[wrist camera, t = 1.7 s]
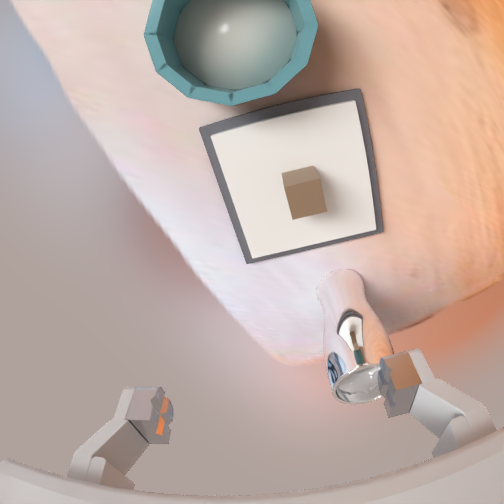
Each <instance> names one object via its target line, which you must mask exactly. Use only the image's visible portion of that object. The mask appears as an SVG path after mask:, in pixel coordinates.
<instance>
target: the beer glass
mask: <svg viewBox="0 0 504 504" xmlns="http://www.w3.org/2000/svg"><path fill="white" fill-rule="evenodd" d="M316 294H317V298H318V300H319V302H320V304H321V306H322V308H323V311H324V335H323V349H324V358H325V363H326V369H327V373H328V377H329V381H330V385H331V388H332V394H333V396H334V398H335V399H336V400H337V401H339V402H341V403H344V404H353V405H354V404H364V403H368V402H372V401H374V400H377V399H379V398H381V397H383V396H382V395H381V394H380V391H379V387H378V379H377V377H378V371H379V370H380V369H381V368H380V365H379V362H380V359H381V357H385V356H389V355H393V354H394V351H393V348H392V344H391V341H390V339H389V336H388V334H387V332H386V330H385V328H384V326H383V324H382V323H381V321H380V319H379V318H378V316H377V315H376V313H375V312H374V311H373V309H372V308H371V306H370V305H369V303H368V301H367V299H366V297H365V291H364V283H363V280H362V278H361V277H360V275H359V274H358V273H356V272H355V271H352V270H349V269H339V270H335V271H332V272H330V273H328V274H326V275H325V276H324V277H323V278H322V279H321V280H320V282H319V283H318V286H317V290H316Z"/></svg>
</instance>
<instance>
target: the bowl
mask: <svg viewBox="0 0 504 504" xmlns="http://www.w3.org/2000/svg"><path fill="white" fill-rule="evenodd" d="M317 29H318V23H317V20H316V16H315V13H314V10H313V8H312V5H311V2H310V0H153V1H152V5H151V9H150V12H149V16H148V20H147V24H146V28H145V32H144V38H145V41H146V44H147V47H148V50H149V52H150V55H151V58H152V61H153V64H154V67H155V70H156V72H157V73H158V74H159V75H161V76H162V77H163V78H164V79H166V80H167V81H168V82H169V83H171V84H172V85H173V86H174V87H176V88H177V89H178V90H179V91H180V92H182V93H183V94H184V95H185V96H186V97H189V98H192V99H198V100H203V101H209V102H214V103H219V104H224V105H229V106H231V105H232V106H233V105H237V104H240V103H244V102H247V101H251V100H254V99H258V98H262V97H266V96H270V95H274V93H275V94H276V93H277V92H278V91H279V90H280V89H281V88H282V87H283V86H284V85H285V84H286V83H288V82H289V81H290V80H291V79H292V78H293V77H294V76H295V75H296V74H297V73H298V72H300V71H301V70H302V69H303V68H304V67H305V66H306V64H308V60H309V57H310V53H311V50H312V46H313V43H314V39H315V36H316V32H317ZM296 34H297V35H296ZM289 59H290V60H289ZM288 61H289V62H288ZM287 62H288V63H287ZM266 81H267V82H266ZM264 82H265V83H264ZM234 89H235V90H234ZM236 89H239V90H236Z"/></svg>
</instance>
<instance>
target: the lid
mask: <svg viewBox="0 0 504 504" xmlns="http://www.w3.org/2000/svg"><path fill="white" fill-rule="evenodd" d="M211 139H212V142H213V145H214V148H215V151H216V154H217V157H218V160H219V163H220V165H221V168H222V171H223V174H224V177H225V180H226V183H227V186H228V189H229V192H230V195H231V198H232V200H233V203H234V206H235V209H236V212H237V215H238V218H239V221H240V224H241V227H242V230H243V232H244V235H245V238H246V241H247V244H248V247H249V250H250V253H251V256H252V259H253V258H258V257H262V256H266V255H270V254H275V253H279V252H283V251H288V250H292V249H296V248H301V247H305V246H309V245H313V244H318V243H322V242H326V241H330V240H335V239H339V238H343V237H347V236H352V235H356V234H360V233H364V232H368V231H373V230H376V223H375V214H374V206H373V198H372V190H371V183H370V177H369V170H368V164H367V158H366V152H365V146H364V141H363V136H362V130H361V125H360V120H359V116H358V111H357V106H356V102H355V101H354V100H352V101H346V102H341V103H335V104H330V105H325V106H321V107H316V108H311V109H307V110H302V111H298V112H293V113H289V114H285V115H281V116H277V117H273V118H269V119H265V120H261V121H258V122H254V123H250V124H247V125H243V126H240V127H236V128H233V129H229V130H226V131H223V132H219V133H216V134H213V135H211Z"/></svg>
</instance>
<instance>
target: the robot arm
mask: <svg viewBox="0 0 504 504" xmlns="http://www.w3.org/2000/svg"><path fill="white" fill-rule="evenodd" d="M379 365H380V368H381V369H380V370H379V371H378V377H377V379H378V387H379V391H380V394H381V395H382V396H383V397H385V402H384V406H385V409H386V411H387V415H388V417H389V418H390V417H394V416H398V415H402V414H406V413H410V414H411V415H412V416H413V417H414V418H415V419H416V420H418V421H419V422H420V423H421V424H422V425H424V426H425V427H426V428H427V429H428V430H430V431H431V432H432V433H434V434H435V435H436V436H437V437H438V438H440V440H439V441H438V443H437V445H436V446H435V448H434V449H433V451H432V455H433V459H430V460H427V461H424V462H421V463H418V464H415V465H413V466H409V467H406V468H403V469H400V470H396V471H392V472H389V473H385V474H382V475H378V476H374V477H370V478H366V479H362V480H357V481H353V482H349V483H343V484H338V485H333V486H327V487H321V488H315V489H308V490H301V491H293V492H285V493H273V494H261V495H239V496H198V495H177V494H164V493H154V492H145V491H136V490H134V486H135V484H134V483H133V482H132V481H131V480H130V479H128V478H127V477H126V476H125V475H126V473H127V472H128V471H129V470H130V468H131V467H132V466H133V465H134V463H135V462H136V461H137V460H138V458H139V457H140V456H141V455H142V453H143V452H144V451H145V450H146V448H147V447H148V446H149V444H169V438H170V432H171V430H170V428H169V426H168V425H169V424H170V423H171V422H172V421H173V406H172V403H171V401H170V400H169V399H168V398H166V397H165V396H164V395H165V392H164V390H163V389H162V387H125V388H124V390H123V392H122V395H121V398H120V401H119V404H118V407H117V410H116V413H115V416H114V419H110V420H109V421H108V422H107V423H106V424H105V425H104V426H103V427H102V428H100V429H99V430H98V431H97V432H96V433H95V434H94V435H93V436H92V437H91V438H90V439H89V440H87V441H86V442H85V443H84V444H83V445H82V446H81V447H80V448H79V449H77V450H76V451H75V453H74V456H73V459H72V462H71V465H70V468H69V472H68V475H67V477H65V476H61V475H58V474H54V473H51V472H47V471H44V470H41V469H37V468H34V467H31V466H28V465H25V464H22V463H20V462H17V461H14V460H11V459H4V460H2V461H0V504H504V427H503V428H501V429H499V430H496V428H495V426H494V424H493V422H492V420H491V418H490V416H489V414H488V412H487V410H486V408H485V406H484V405H483V404H482V403H480V402H478V401H477V400H475V399H473V398H472V397H470V396H468V395H466V394H465V393H463V392H461V391H460V390H458V389H456V388H454V387H453V386H451V385H449V384H448V383H446V382H444V381H443V380H441V379H435V377H434V375H433V373H432V371H431V369H430V367H429V365H428V363H427V361H426V359H425V357H424V355H423V354H422V352H421V350H420V349H419V348H416V349H413V350H409V351H404V352H400V353H396V354H393V355H389V356H385V357H381V359H380V362H379Z"/></svg>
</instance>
